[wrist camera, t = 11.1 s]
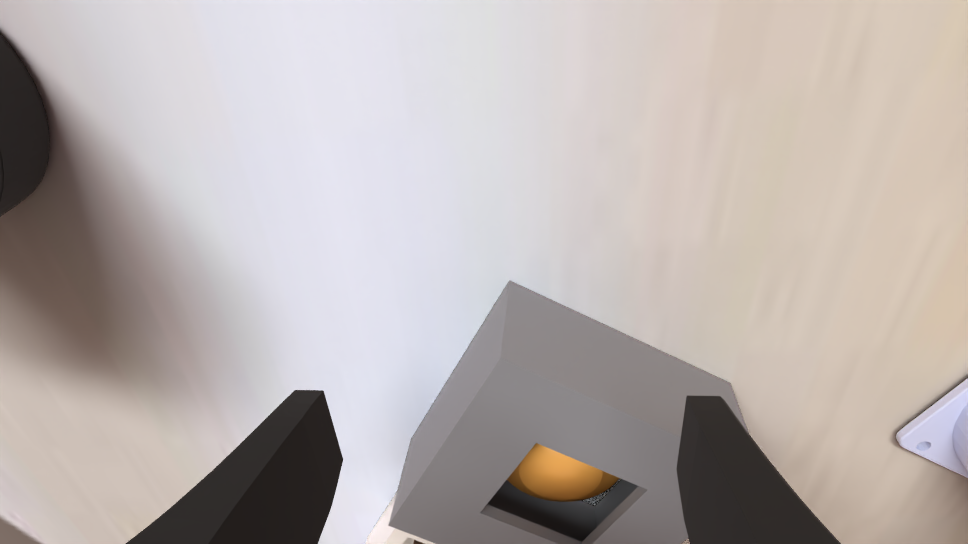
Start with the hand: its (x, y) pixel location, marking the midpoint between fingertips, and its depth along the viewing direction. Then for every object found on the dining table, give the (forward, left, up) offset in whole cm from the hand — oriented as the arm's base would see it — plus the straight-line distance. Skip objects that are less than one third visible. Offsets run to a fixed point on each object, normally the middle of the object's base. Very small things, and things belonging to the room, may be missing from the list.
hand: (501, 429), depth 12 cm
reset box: (-6, +8, -10) cm, 14 cm away
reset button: (-6, +8, -9) cm, 13 cm away
